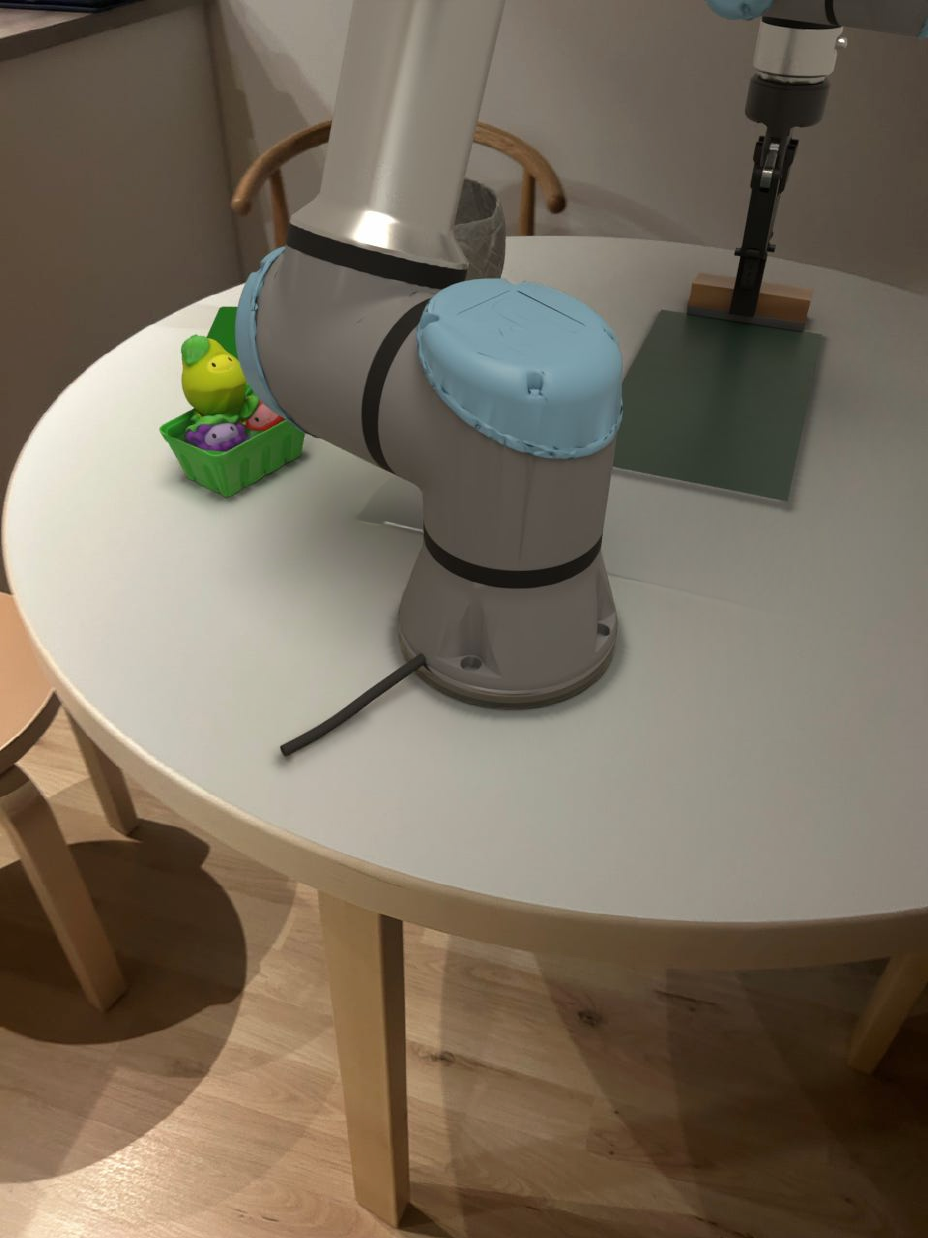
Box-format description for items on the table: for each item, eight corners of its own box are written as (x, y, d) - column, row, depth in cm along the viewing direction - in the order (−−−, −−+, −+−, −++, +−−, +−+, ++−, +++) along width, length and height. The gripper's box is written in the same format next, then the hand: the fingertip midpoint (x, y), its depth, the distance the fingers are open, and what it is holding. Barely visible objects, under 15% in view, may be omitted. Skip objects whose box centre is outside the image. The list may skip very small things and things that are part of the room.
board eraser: (802, 331, 107) (810, 300, 105) (686, 313, 110) (692, 282, 108) (805, 319, 110) (813, 288, 108) (693, 302, 114) (699, 272, 112)
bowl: (307, 376, 98) (292, 225, 88) (323, 297, 113) (311, 161, 104) (507, 375, 99) (514, 225, 89) (496, 297, 114) (501, 162, 104)
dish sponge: (198, 383, 96) (194, 361, 95) (223, 326, 107) (220, 305, 105) (269, 384, 96) (267, 361, 95) (287, 326, 107) (285, 305, 105)
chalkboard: (786, 506, 81) (787, 501, 81) (580, 464, 85) (580, 459, 85) (820, 338, 107) (822, 333, 106) (660, 313, 111) (661, 309, 111)
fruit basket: (226, 511, 79) (203, 385, 72) (156, 475, 83) (128, 352, 76) (322, 455, 86) (310, 335, 79) (253, 424, 90) (236, 308, 83)
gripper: (826, 92, 86) (769, 341, 101) (837, 65, 95) (782, 296, 111) (742, 84, 88) (698, 330, 103) (760, 58, 97) (717, 287, 113)
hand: (742, 312), depth 107 cm, fingers closed
